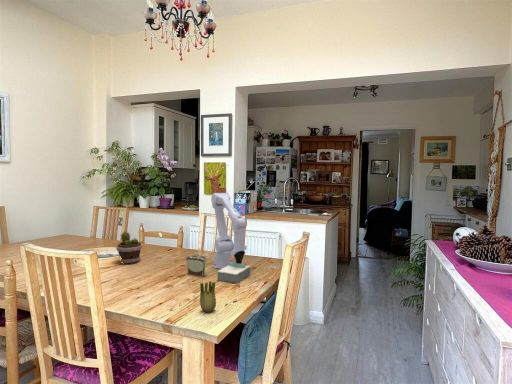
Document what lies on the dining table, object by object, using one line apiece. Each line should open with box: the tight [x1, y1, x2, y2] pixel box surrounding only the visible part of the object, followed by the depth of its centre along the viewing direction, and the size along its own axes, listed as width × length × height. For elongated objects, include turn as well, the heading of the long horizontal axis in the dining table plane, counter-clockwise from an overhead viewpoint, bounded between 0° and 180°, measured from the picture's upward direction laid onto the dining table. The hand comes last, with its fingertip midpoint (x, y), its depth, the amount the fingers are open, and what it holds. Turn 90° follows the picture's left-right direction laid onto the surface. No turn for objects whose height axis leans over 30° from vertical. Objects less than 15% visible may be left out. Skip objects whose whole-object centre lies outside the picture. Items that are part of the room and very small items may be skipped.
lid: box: [217, 261, 251, 275], centre depth 170 cm, size 11×16×2 cm
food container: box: [185, 254, 207, 278], centre depth 175 cm, size 12×6×10 cm, turn 65°
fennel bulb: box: [199, 280, 217, 313], centre depth 129 cm, size 6×5×12 cm
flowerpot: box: [115, 230, 143, 265], centre depth 197 cm, size 14×15×20 cm
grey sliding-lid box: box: [217, 266, 251, 285], centre depth 171 cm, size 11×16×4 cm
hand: (238, 264), depth 175 cm, fingers closed
